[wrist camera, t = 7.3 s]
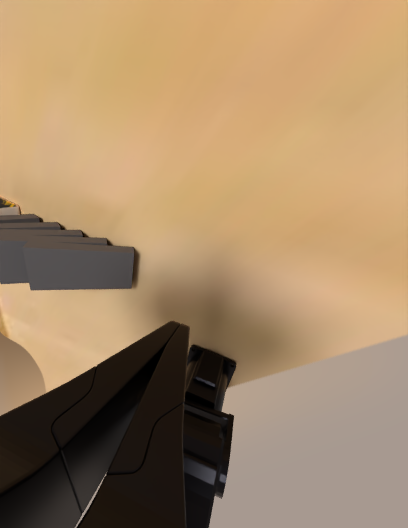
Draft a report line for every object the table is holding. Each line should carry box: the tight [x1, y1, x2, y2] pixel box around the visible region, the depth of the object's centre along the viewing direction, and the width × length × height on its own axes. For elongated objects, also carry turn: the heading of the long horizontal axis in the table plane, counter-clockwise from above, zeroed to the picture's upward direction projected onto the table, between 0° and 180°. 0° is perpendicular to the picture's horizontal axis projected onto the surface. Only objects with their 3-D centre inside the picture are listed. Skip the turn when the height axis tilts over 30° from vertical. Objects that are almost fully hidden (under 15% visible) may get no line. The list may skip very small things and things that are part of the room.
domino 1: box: [22, 241, 134, 290], centre depth 23 cm, size 5×2×10 cm
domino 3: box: [0, 229, 83, 237], centre depth 23 cm, size 5×2×10 cm
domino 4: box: [0, 222, 61, 230], centre depth 23 cm, size 5×2×10 cm, turn 166°
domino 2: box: [0, 234, 107, 284], centre depth 23 cm, size 5×2×10 cm
